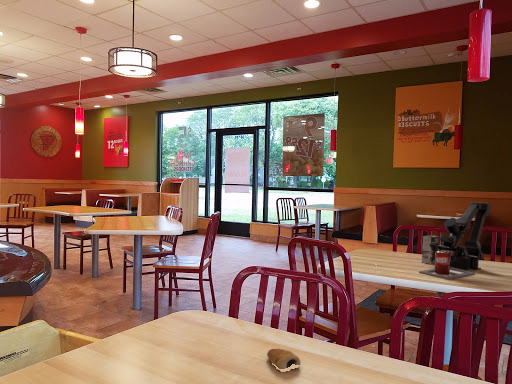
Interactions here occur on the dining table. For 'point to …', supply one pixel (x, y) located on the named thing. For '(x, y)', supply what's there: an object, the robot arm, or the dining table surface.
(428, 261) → the coffee box
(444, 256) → the soda can
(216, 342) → the dining table surface
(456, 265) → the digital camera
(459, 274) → the label frame
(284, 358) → the pastry
